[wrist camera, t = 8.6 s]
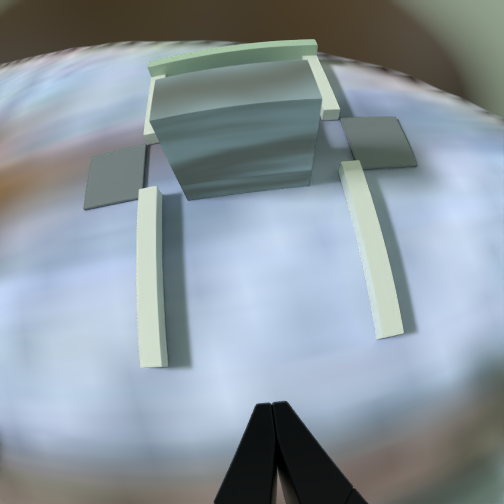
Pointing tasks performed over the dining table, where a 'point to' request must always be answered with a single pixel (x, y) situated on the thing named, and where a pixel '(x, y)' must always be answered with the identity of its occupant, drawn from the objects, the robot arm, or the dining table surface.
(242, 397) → the dining table surface
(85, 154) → the dining table surface
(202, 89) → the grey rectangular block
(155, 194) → the pale green open frame
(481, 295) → the dining table surface
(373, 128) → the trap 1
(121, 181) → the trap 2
